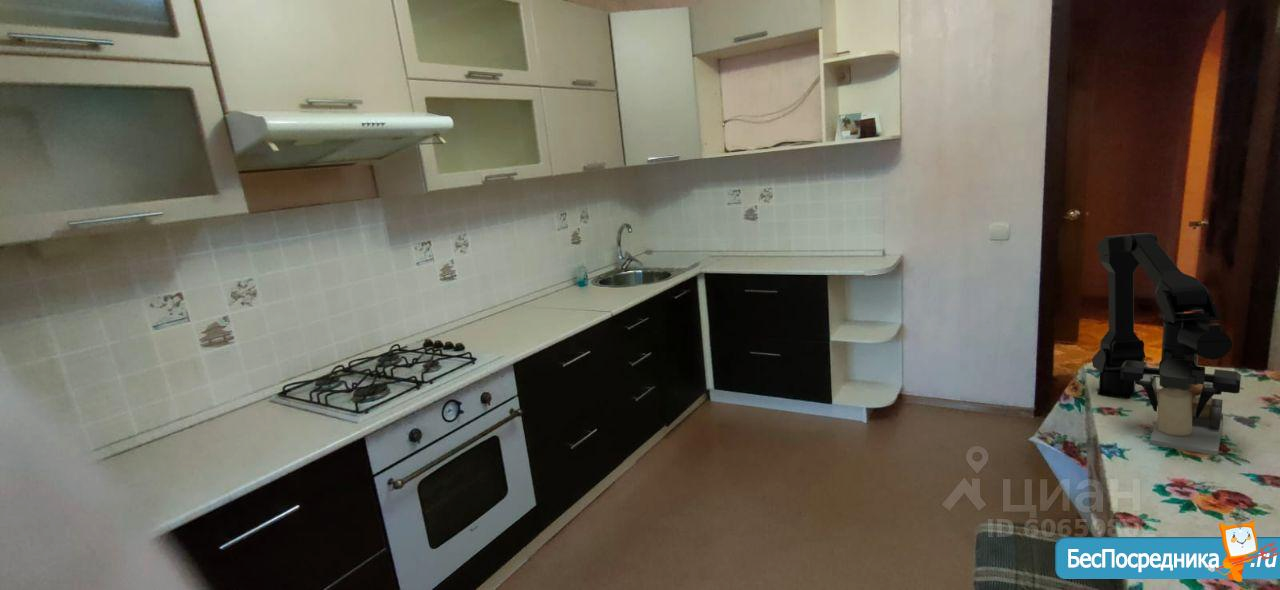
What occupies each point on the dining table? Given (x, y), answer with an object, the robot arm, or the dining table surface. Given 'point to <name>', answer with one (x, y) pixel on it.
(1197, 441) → the ramp board
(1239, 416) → the dining table surface
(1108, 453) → the dining table surface
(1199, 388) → the stop pin
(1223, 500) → the dining table surface
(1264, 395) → the dining table surface
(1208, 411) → the trolley
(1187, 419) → the candle
